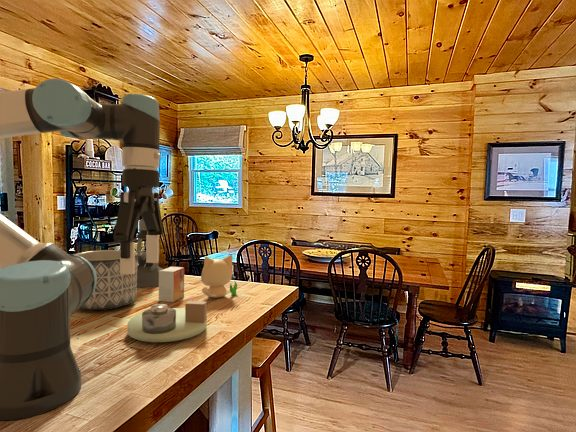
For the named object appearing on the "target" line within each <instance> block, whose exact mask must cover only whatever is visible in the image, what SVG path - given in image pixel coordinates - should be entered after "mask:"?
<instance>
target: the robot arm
mask: <svg viewBox="0 0 576 432" xmlns="http://www.w3.org/2000/svg"><path fill="white" fill-rule="evenodd" d="M120 102H121V103H117V104H116V103H105V102H104V103H103V102H96V100H94V99H93V98H91V97H90V96H89V95H88V94H87V93H86V92H85V91H84V90H83V89H82V88H80V87H79V86H78V85H75V84H74V83H71V82H69V81H67V80H65V79H62V78H48V79H46V80H43V81H42V82H40V83H39V84H37V85H36V86H35V87H34V88H27V89H17V90H7V91H0V139H5V138H12V137H13V138H14V137H21V136H22V137H23V136H28V135H29V136H30V135H35V134H46V133H54V132H59V134H60V135H61V136H63V137H65V138H72V139H78V140H85V139H86V140H112V141H121V142H122V151H121V152H122V153H121V156H122V157H121V166H122V167H124V169H123V170H122V172H121V174H122V175H121V176H122V177H121V183H122V184H121V185H122V186H123V187H126V188H127V187H128V188H129V189H128V191H121V192H120V194H119V197H120V198H119V207H118V212H117V217H116V222H115V226H114V231H113V236H112V237H113V241H114V242H115V243H119V250H120V274H135V252H136V248H135V247H136V246H135V245H136V241H133V240H134V238H135V233H136V230H137V228H138V227H137V226H138V225H139V220H140V217H142V216H143V219H144V222H145V225H146V228H147V231H148V234H150V235H146V239H145V244H146V246H145V249H146V250H145V251H146V263H158V264H159V263H160V262H159V260H160V258H159V256H160V253H159V252H160V250H159V249H160V246H159V245H160V243H159V242H160V236H163V235H164V231H163V230H164V226H163V221H162V214H161V209H160V208H161V207H160V202H159V201H160V199H159V198H160V195H159V194H160V193H159V192H153V188H155V189H156V188H159V186H160V172H159V170H157V169H159V168H160V159H161V158H162V155H161V153H160V143H161V142H160V138H161V137H160V136H161V135H160V134H161V132H160V131H161V119H160V104H159V101H158V100H157V99H156V98H155V97H152V96H150V95H147V94H141V93H126V94H124V95H123V96H122V98H121V101H120ZM140 215H142V216H140ZM136 227H137V228H136ZM159 235H160V236H159ZM96 285H97V275H96V271H95V269H94V267H93V265H92V264H91V263H90V262H89V261H88V260H86V259H85V258H83V257H81V256H77V255H74V254H69V253H67V252H66V251H65V250H64V249H62V248H60V247H59V246H58V245H57V244H55V243H53V242H41V241H38V240H37V239H36V238H34V237H33V236H31V235H30V234H29V233H27V232H26V231H25V230H24V229H22V228H21V227H19V226H18V225H17V224H15V223H14V222H12V221H11V220H10V219H9V218H7V217H6V216H5V215H4V214H2V213H0V421H13V420H19V419H21V420H22V419H24V418H30V417H34V416H37V415H41V414H43V413H46V412H49V411H51V410H54V409H56V408H57V409H58V407H60V406H62V405H64V404H66V403H67V402H70V401H71V400H72V399H73V398H75V396H76V395H77V394H79V392H80V390H81V389H82V373H81V369H80V368H79V366H78V362H77V361H76V358H75V354H74V352H73V350H72V348H71V317H72V315H73V314H74V313H76V311H78V310H79V309H81V308H80V307H82V306H83V305H84V304H86V302H87V301H88V300H89V299H90V298H91V296H92V294H93V292H94V291H95V288H96Z"/></svg>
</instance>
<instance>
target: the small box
mask: <svg viewBox="0 0 576 432" xmlns="http://www.w3.org/2000/svg"><path fill="white" fill-rule="evenodd" d="M184 297H185V267H183V266H182V267H181V266H169V267H167V268H163V270H160V271H159V286H158V302H165V303H166V302H167V303H174V302H176V301H177V300H179V299H181V298H184Z"/></svg>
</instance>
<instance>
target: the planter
mask: <svg viewBox="0 0 576 432" xmlns="http://www.w3.org/2000/svg"><path fill="white" fill-rule="evenodd" d="M73 255H77V256H81V257H83V258H85V259H86V260H88V261H89V262H90V263H91V264H92V265H93V267H94V269H95V271H96V275H97V285H96V288H95V291H94V292H93V294H92V296H91V298H90V299H89V300H88V301H87V302H86V304H84V305H83V306H82V307H80V308H79V309H81V310H82V309H83V310H92V311H107V310H108V311H109V310H114V309H117V308H120V307H123V306H126V305H130V304H131V303H133V302H134V301H136V299H137V294H138V292H137V291H138V288H137V264H138V263H137V262H138V253H136V251H135V274H120V249H105V250H104V249H103V250H89V251H83V252H78V253H73Z"/></svg>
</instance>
